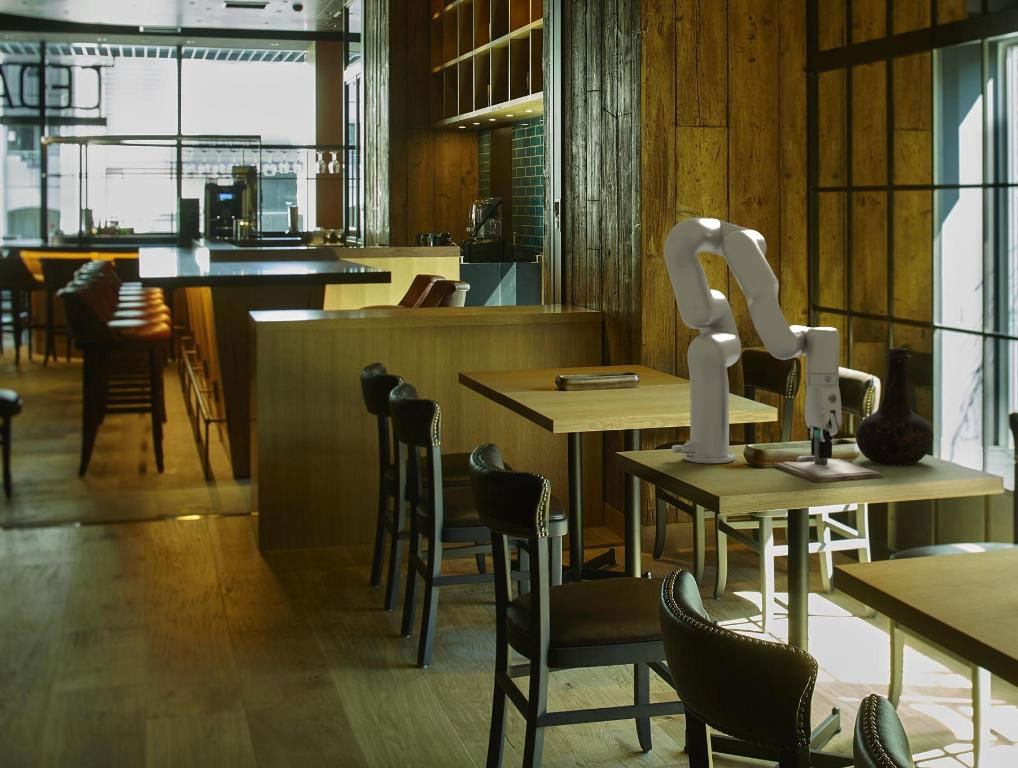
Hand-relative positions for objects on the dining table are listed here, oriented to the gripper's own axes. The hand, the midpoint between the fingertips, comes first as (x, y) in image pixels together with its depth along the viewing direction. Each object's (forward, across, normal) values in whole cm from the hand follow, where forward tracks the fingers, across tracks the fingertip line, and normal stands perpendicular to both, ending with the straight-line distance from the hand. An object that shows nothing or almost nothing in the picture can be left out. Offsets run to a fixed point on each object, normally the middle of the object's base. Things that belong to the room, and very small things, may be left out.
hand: (821, 455), depth 300 cm
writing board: (+3, -4, +1) cm, 5 cm away
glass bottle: (+3, +1, -20) cm, 21 cm away
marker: (+2, 0, 0) cm, 2 cm away
